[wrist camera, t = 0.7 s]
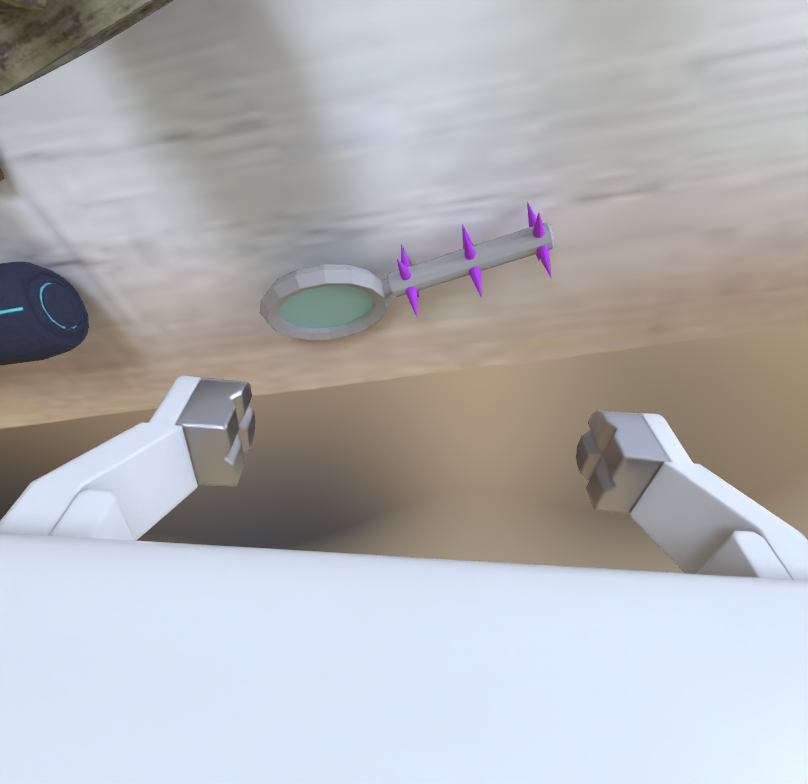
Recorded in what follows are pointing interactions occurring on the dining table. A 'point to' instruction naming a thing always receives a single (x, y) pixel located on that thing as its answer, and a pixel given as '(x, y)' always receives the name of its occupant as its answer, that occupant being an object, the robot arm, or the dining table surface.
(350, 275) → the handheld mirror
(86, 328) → the portable speaker
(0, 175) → the stand
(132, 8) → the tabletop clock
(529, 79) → the dining table surface
